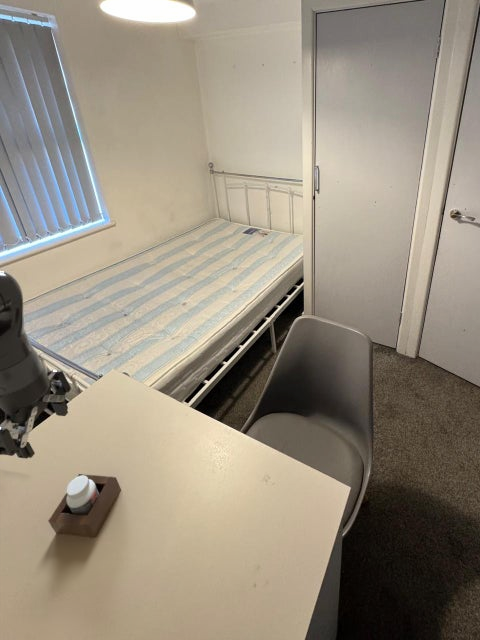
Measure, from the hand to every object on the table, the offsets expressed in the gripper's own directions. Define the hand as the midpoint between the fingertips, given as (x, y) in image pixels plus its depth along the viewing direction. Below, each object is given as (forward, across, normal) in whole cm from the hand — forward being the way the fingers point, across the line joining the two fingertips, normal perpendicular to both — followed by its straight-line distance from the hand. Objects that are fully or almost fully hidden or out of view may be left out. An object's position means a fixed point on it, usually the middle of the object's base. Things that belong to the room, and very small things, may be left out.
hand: (46, 433), depth 64 cm
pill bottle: (+24, +2, +3) cm, 25 cm away
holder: (+24, +2, +3) cm, 24 cm away
